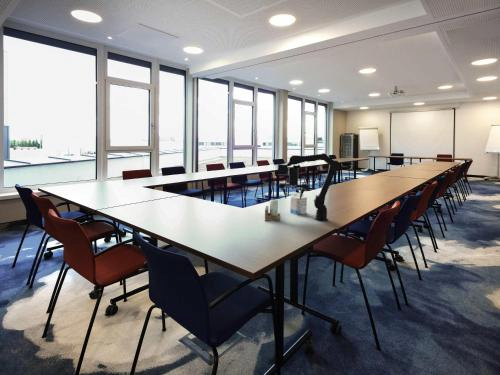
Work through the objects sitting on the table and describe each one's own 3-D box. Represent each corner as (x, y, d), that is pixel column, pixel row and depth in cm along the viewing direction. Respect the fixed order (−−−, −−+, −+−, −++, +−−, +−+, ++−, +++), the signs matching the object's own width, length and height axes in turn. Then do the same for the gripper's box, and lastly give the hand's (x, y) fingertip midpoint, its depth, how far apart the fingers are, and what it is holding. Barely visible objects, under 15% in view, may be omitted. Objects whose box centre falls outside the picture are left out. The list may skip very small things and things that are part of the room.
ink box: (296, 214, 212) (296, 195, 210) (290, 212, 219) (290, 193, 217) (306, 213, 215) (307, 194, 213) (300, 211, 223) (300, 192, 221)
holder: (280, 216, 207) (280, 206, 206) (280, 221, 194) (280, 210, 193) (266, 215, 208) (266, 205, 207) (264, 220, 195) (265, 209, 194)
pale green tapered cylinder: (279, 218, 200) (279, 200, 198) (272, 219, 197) (272, 201, 196) (274, 217, 204) (274, 199, 203) (268, 218, 202) (268, 200, 200)
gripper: (307, 174, 203) (306, 197, 206) (279, 173, 205) (278, 196, 208) (308, 175, 192) (308, 200, 195) (279, 175, 194) (278, 199, 197)
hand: (293, 199), depth 199 cm, fingers open, 9 cm apart
